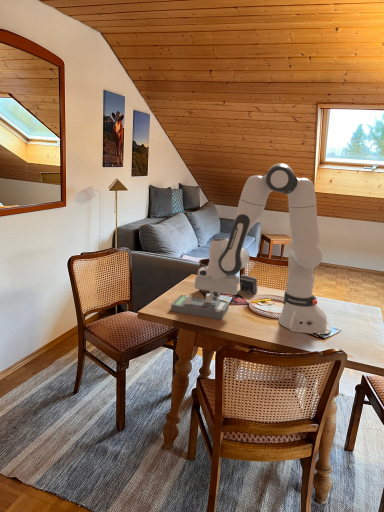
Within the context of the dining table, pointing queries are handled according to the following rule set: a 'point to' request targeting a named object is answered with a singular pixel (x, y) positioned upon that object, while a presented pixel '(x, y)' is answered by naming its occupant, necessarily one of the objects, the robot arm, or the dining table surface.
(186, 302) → the block
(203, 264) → the plant pot
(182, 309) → the grey slider panel
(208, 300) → the block
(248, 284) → the electrical switch
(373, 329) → the dining table surface
